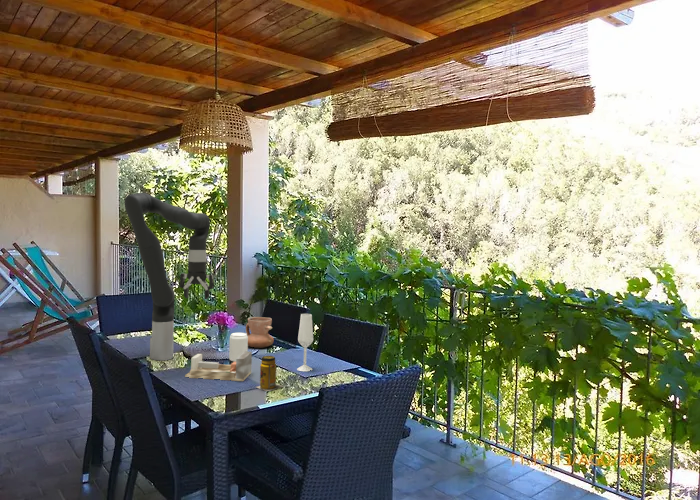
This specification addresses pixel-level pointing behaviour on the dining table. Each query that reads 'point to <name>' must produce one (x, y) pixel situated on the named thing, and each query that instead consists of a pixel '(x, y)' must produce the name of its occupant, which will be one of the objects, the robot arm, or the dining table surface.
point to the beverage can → (237, 345)
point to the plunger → (202, 363)
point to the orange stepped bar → (233, 367)
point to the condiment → (268, 374)
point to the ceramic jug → (259, 332)
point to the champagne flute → (305, 337)
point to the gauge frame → (226, 370)
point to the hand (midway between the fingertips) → (196, 298)
